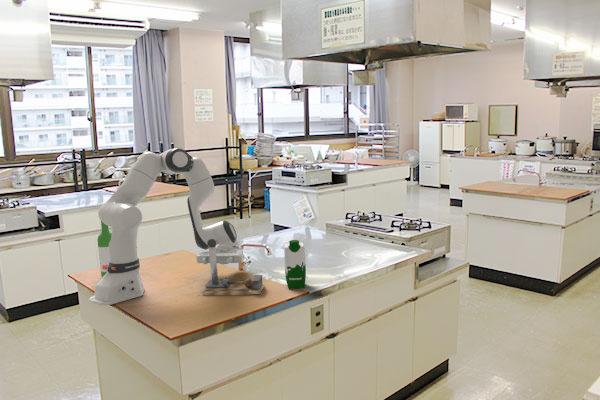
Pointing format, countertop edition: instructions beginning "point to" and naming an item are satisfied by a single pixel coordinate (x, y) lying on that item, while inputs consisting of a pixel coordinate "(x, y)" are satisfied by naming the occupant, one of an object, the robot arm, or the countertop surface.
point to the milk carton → (295, 264)
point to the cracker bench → (238, 287)
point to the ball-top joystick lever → (215, 268)
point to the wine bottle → (104, 247)
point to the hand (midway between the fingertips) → (215, 262)
